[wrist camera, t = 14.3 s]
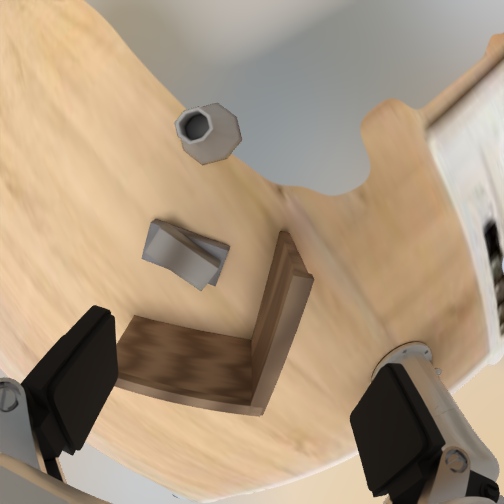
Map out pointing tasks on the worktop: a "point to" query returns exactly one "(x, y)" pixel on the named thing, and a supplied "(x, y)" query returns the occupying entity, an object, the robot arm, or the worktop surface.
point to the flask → (208, 133)
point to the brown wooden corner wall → (220, 349)
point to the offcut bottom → (205, 243)
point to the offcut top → (183, 256)
